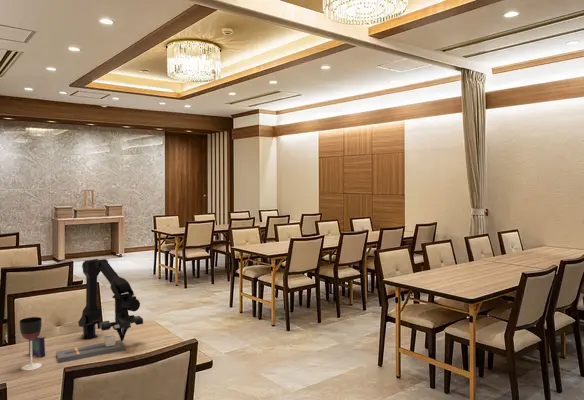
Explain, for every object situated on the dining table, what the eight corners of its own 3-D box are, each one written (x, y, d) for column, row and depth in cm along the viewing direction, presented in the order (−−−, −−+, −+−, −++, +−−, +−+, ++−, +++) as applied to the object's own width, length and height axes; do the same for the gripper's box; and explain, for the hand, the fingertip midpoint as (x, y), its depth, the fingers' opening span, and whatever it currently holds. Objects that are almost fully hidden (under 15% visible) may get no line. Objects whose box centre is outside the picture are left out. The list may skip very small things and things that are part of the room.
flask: (27, 354, 206) (27, 331, 206) (33, 352, 208) (33, 329, 208) (41, 357, 202) (41, 333, 202) (47, 355, 205) (47, 332, 204)
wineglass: (26, 372, 186) (25, 324, 185) (17, 367, 191) (15, 320, 191) (46, 366, 192) (45, 319, 192) (36, 361, 198) (35, 316, 197)
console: (56, 355, 204) (56, 351, 204) (120, 343, 219) (120, 339, 219) (58, 363, 196) (58, 358, 195) (125, 349, 211) (125, 345, 211)
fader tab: (104, 344, 212) (104, 336, 212) (113, 342, 215) (113, 334, 214) (106, 346, 209) (106, 339, 209) (115, 345, 211) (115, 337, 211)
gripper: (103, 315, 202) (104, 349, 203) (146, 309, 213) (146, 341, 213) (99, 309, 212) (99, 342, 212) (139, 304, 222) (140, 335, 222)
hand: (122, 340), depth 215 cm, fingers closed
